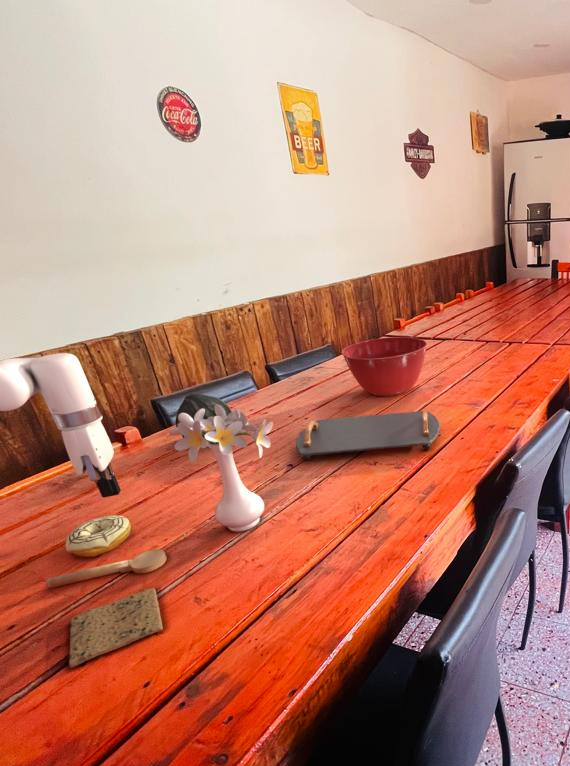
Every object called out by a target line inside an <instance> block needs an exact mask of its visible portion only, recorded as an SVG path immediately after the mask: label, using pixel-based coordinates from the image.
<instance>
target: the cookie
mask: <svg viewBox="0 0 570 766" xmlns="http://www.w3.org/2000/svg"><path fill="white" fill-rule="evenodd" d="M69 628H70V629H69V633H70V634H69V655H68V659H69V660H68V665H69V668H71V669H72V668H74V667H77V666H78V665H82V664H83V663H84V662H87V661H89V660H91V659H93V658H96V657H99V656H101V655H103V654H106V653H109V652H111V651H114V650H117V649H120V648H122V647H124V646H127V645H129V644H131V643H133V642H136V641H137V640H140V639H143V638H144V637H147V636H150V635H152V634H155V633H159V632H161V631H163V621H162V616H161V611H160V604H159V601H158V595H157V591H156V588H155V587H151V588H146V589H143V590H141V591H138V592H136V593H132V594H130V595H128V596H126V597H123V598H120V599H118V600H115V601H113V602H110V603H107V604H104V605H100V606H98V607H95V608H90V609H87V611H84V612H82V613H79V614H76V615H75V616H72V618H71V619H70V623H69Z"/></svg>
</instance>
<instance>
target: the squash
mask: <svg viewBox="0 0 570 766" xmlns="http://www.w3.org/2000/svg"><path fill="white" fill-rule="evenodd" d="M217 404H218V405H220V406H221V407H222V408H223V409H224V410H225V413H226V416H228V415H229V414H230V413H231V412H233V411H232V410H231V408H230V406H229V405H228V404H227V403H225V402H224V401H223V400H221V399H220V398H219V397H216V396H211V395H207V394H203V393H189V394H187V395H186V396H185V397H184V398H183V400H182V402H181V403H180V405H179V407H178V409H177V411H176V415H175V428H177V427H178V426H177V425H178V423H180V421H179V420H178V415H179V414H180V413H186V414H188V415H189V416H190V417H191V418H192V419H193V420H194V416H195V414H196V413H197V412H198V411H199V410H200V409H205V413H204V416H203V419H206V420H208V417H215V416H217V415H216V412H215V405H217ZM194 422H195V421H194ZM202 433H204V434H206V433H205V432H202ZM180 435H181V437H182V439H184V436H183V435H182V434H180ZM202 437H203V438H205V436H204V435H202ZM207 442H208V441H207Z"/></svg>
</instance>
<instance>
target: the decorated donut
mask: <svg viewBox="0 0 570 766" xmlns="http://www.w3.org/2000/svg"><path fill="white" fill-rule="evenodd" d="M131 527H132V525H131V522H130V520H129V519H128V518H127V517H125V516H124V515H116V514H115V515H107V516H100V517H97V518H93V519H90V520H88V521H85V522H83V523H81V524H80V525H77V526H76V527H75V528H73V530H72V531H71V532H70V533H69V534H68V535H67V536H66V541H65V550H66V552H69V553H72V554H73V555H76V556H78V557H80V558H81V557H83V558H94V557H96V556H99V555H102V554H105V553H108V552H111V550H113V549H115V548H117V547H119V545H121V544H122V543H123V542H124V541H125V540H126V539H127V538H128V537H129V536H130V533H131V529H132V528H131Z"/></svg>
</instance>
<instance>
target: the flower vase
mask: <svg viewBox="0 0 570 766" xmlns="http://www.w3.org/2000/svg"><path fill="white" fill-rule="evenodd" d="M232 406H233V409H234V411H232V412H231V413H230V414H229V415H228V416H226V413H225V410H224V409H223V408H222V407H221V406H220V405H218V404H217V405H215V412H216V415H217V416H215V417H208V420H206V419H203V416H204V413H205V409H200V410H199V411H198V412H197V413H196V414H195V416H194V420H193V419H192V418H191V417H190V416H189V415H188V414H186V413H180V414H179V415H178V420H179V421H180V423H178V425H177V426H178V427H177V428H176V427H174V428H173V429H171V430H170V432H169V435H170V436H179V435H181V434H182V435H183V436H184V438H181V439H179V440H178V441H176V442H175V444H174V450H175V451H177V452H181V451H186V450H187V449H188V450H189V451H188V458H189V461H191V462H195V461H196V459H197V458H198V453H199V450H200V449H206V448H207V447H208V448H209V449H210V450H211V453H212V454H213V456H214V459H215V460H216V461H215V462H216V463H217V466H218V469H219V474H220V477H221V482H222V496H221V499H220V500H219V501H218V503H217V505H216V507H215V511H214V517H215V520H216V521H217V522H218V523H219V524H220V525H222V526H224V527H226V528H227V529H228V530H229V531H232V532H244V531H248V530H250V529H252V528H254V527H255V526H257V525H258V524H259V523H260V520H261V516H262V515H263V513H264V511H265V507H266V506H265V502H264V499H262V497H261V496H260V495H258V494H257V493H256V492H253V491H251V490H249V489H248V488H247V487H246V486H245V484H244V482H243V481H242V479H241V477H240V475H239V471H238V468H237V466H236V463H235V460H234V454H233V453H234V452H233V446H234V447H237V448H247V446H248V442H247V441H246V440H245V438H243V437H241V436H248V437H252V439H253V442H254V444H255V447H256V450H257V455H258V457H259V459H261V458H262V456H263V452H264V449H263V447H264V448H265V449H270V447H271V445H272V444H271V443H272V442H271V439H270V438H269V436H267V434H269V433H270V432H271V431H272V429H273V426H274V422H273V421H271V422H269V423H268V424H267V419H266V418H265V419H264V420H263V421H262V423H261V424H260V425H259V427H257V426H255V425H253V424H251V423H249V419H248V417H247V415H246V414H245V413H244V412H243V411H241V410H238V408H236V407H235V405H232ZM194 421H195V422H194ZM202 432H205V433H206V434H204V433H202ZM250 432H252V433H250ZM182 435H181V436H182ZM202 435H204V436H205V438H203V437H202ZM207 441H208V442H207Z"/></svg>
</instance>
